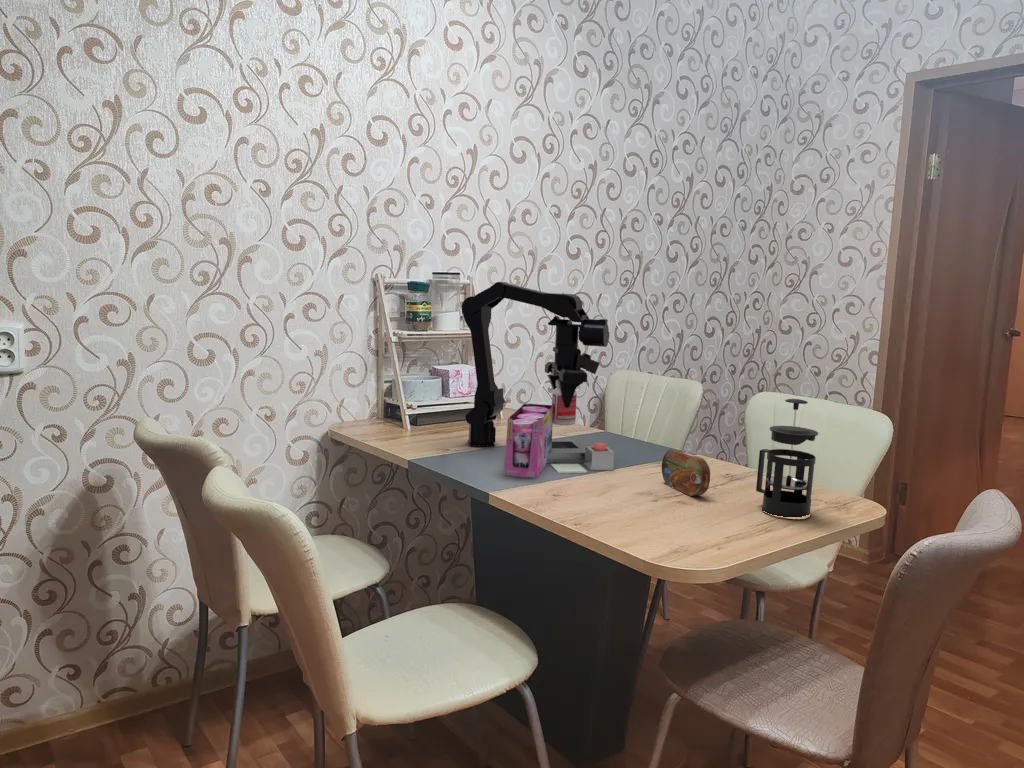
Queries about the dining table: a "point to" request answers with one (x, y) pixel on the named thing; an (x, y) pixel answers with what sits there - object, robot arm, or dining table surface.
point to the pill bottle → (563, 408)
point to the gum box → (528, 440)
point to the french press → (787, 500)
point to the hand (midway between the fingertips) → (563, 405)
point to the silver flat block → (568, 451)
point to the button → (599, 447)
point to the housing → (599, 458)
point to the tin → (686, 472)
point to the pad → (568, 468)
